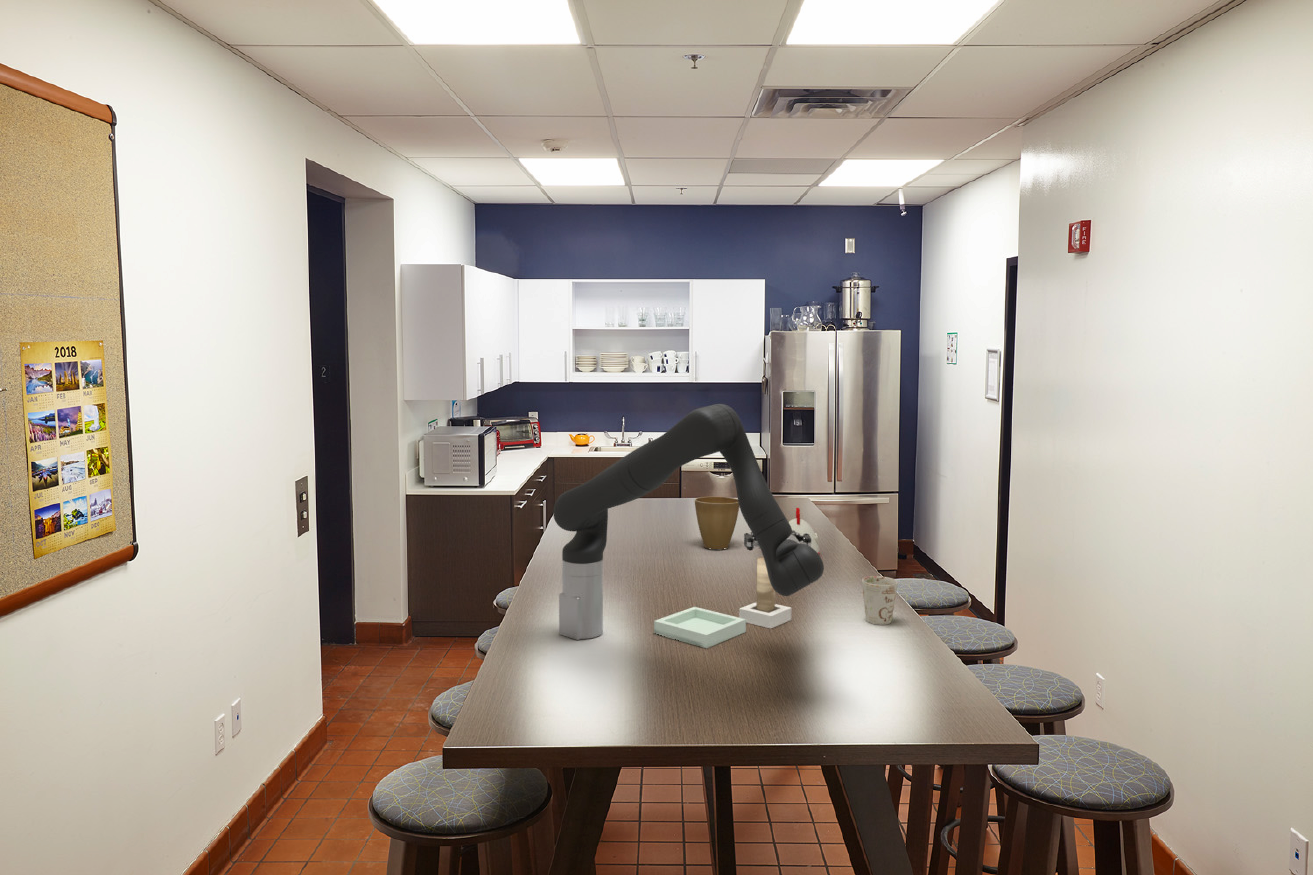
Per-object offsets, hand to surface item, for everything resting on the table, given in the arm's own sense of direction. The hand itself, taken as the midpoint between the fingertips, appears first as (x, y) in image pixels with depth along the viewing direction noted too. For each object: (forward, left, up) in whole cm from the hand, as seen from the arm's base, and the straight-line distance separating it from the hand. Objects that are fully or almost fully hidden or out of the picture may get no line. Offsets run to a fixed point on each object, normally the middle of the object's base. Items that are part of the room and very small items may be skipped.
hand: (773, 534), depth 200 cm
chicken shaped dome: (+73, +37, -24) cm, 85 cm away
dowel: (+9, +7, -23) cm, 26 cm away
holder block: (+9, +7, -23) cm, 26 cm away
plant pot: (+64, +62, -24) cm, 92 cm away
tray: (-9, +13, -23) cm, 28 cm away
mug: (+28, -12, -24) cm, 38 cm away
